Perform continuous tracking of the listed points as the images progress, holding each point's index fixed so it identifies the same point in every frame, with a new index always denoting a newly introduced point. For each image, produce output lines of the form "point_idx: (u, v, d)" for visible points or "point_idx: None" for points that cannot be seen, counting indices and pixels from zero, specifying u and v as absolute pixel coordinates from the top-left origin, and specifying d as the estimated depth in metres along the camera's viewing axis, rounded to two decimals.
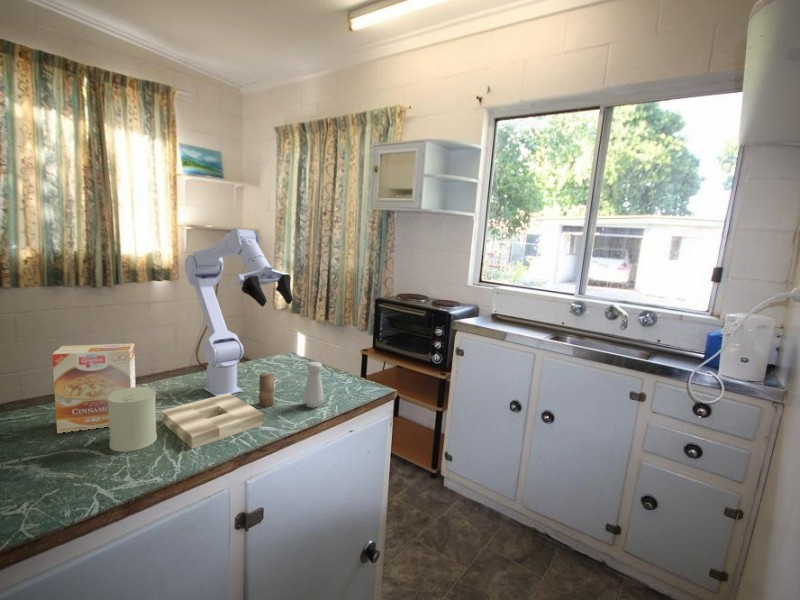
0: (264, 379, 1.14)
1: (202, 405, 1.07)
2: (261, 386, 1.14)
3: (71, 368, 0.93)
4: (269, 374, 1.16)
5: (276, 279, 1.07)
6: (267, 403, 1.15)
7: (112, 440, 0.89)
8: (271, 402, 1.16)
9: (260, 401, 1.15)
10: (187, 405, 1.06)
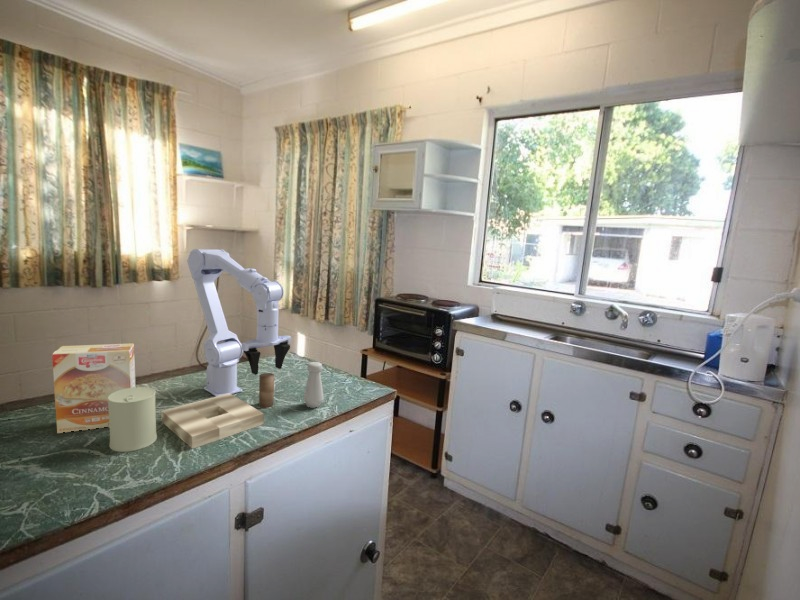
0: (264, 379, 1.14)
1: (202, 405, 1.07)
2: (261, 386, 1.14)
3: (71, 368, 0.93)
4: (269, 374, 1.16)
5: (277, 343, 1.16)
6: (267, 403, 1.15)
7: (112, 440, 0.89)
8: (271, 402, 1.16)
9: (260, 401, 1.15)
10: (187, 405, 1.06)
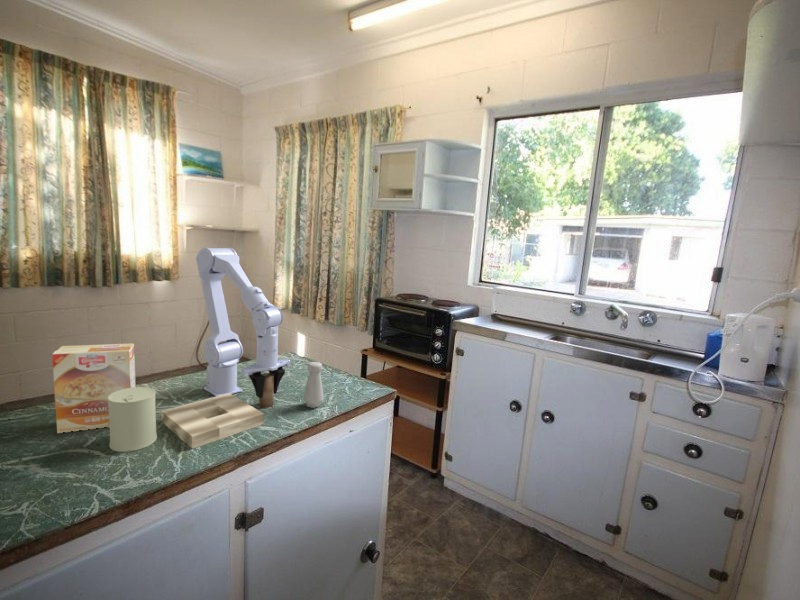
0: None
1: (202, 405, 1.07)
2: None
3: (71, 368, 0.93)
4: (269, 374, 1.16)
5: (277, 367, 1.18)
6: (267, 403, 1.15)
7: (112, 440, 0.89)
8: (271, 402, 1.16)
9: (260, 401, 1.15)
10: (187, 405, 1.06)
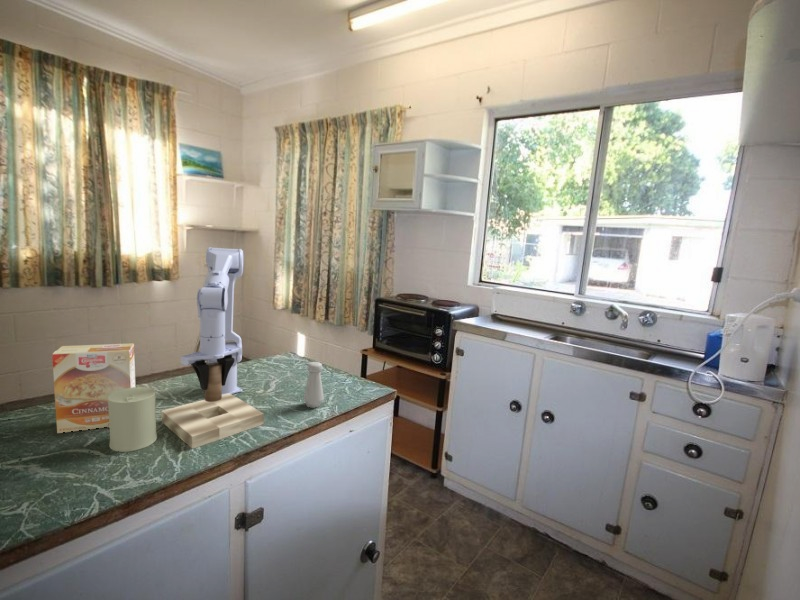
0: None
1: (202, 405, 1.07)
2: None
3: (71, 368, 0.93)
4: (217, 364, 1.02)
5: (225, 355, 1.04)
6: (213, 396, 1.01)
7: (112, 440, 0.89)
8: (218, 395, 1.02)
9: (205, 394, 1.01)
10: (187, 405, 1.06)
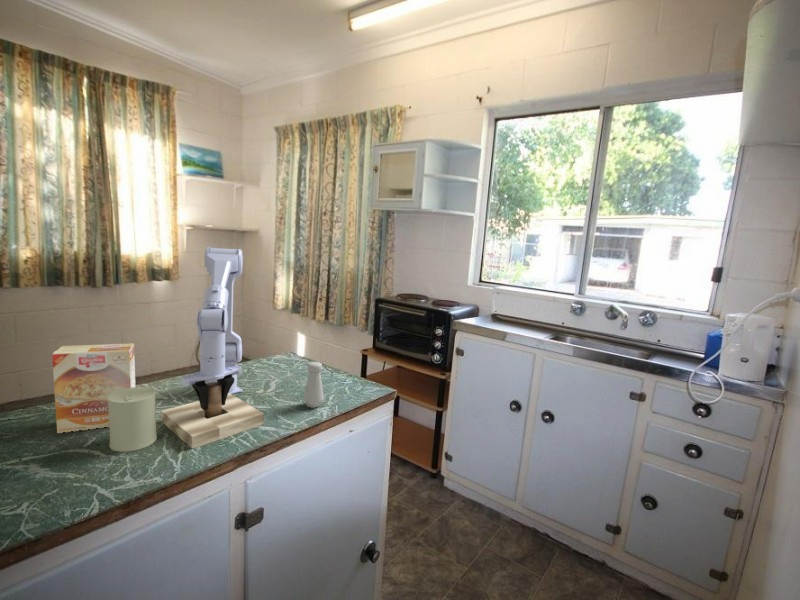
0: (209, 389, 1.01)
1: None
2: None
3: (71, 368, 0.93)
4: (217, 384, 1.03)
5: (225, 375, 1.05)
6: (213, 416, 1.02)
7: (112, 440, 0.89)
8: (218, 415, 1.03)
9: (205, 414, 1.02)
10: (187, 405, 1.06)
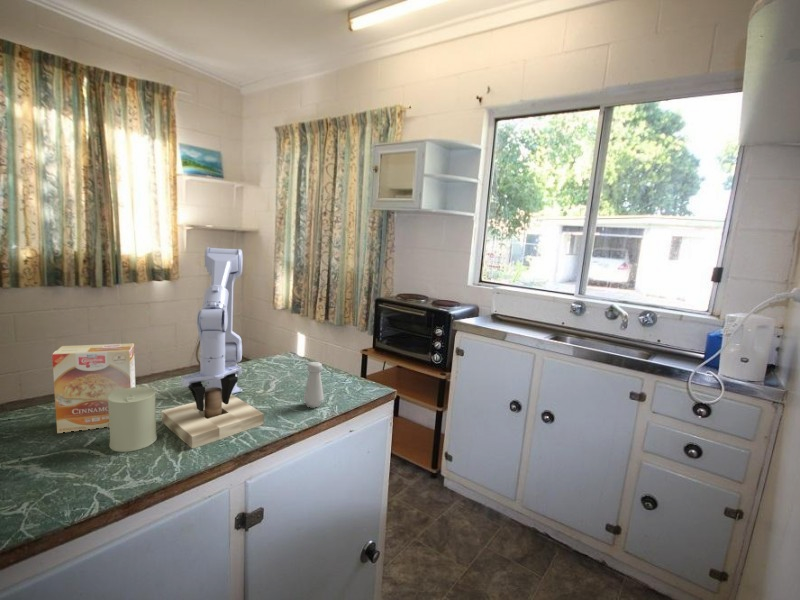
0: (208, 395, 1.01)
1: None
2: (206, 402, 1.01)
3: (71, 368, 0.93)
4: (216, 389, 1.03)
5: (225, 375, 1.05)
6: None
7: (112, 440, 0.89)
8: None
9: None
10: (187, 405, 1.06)
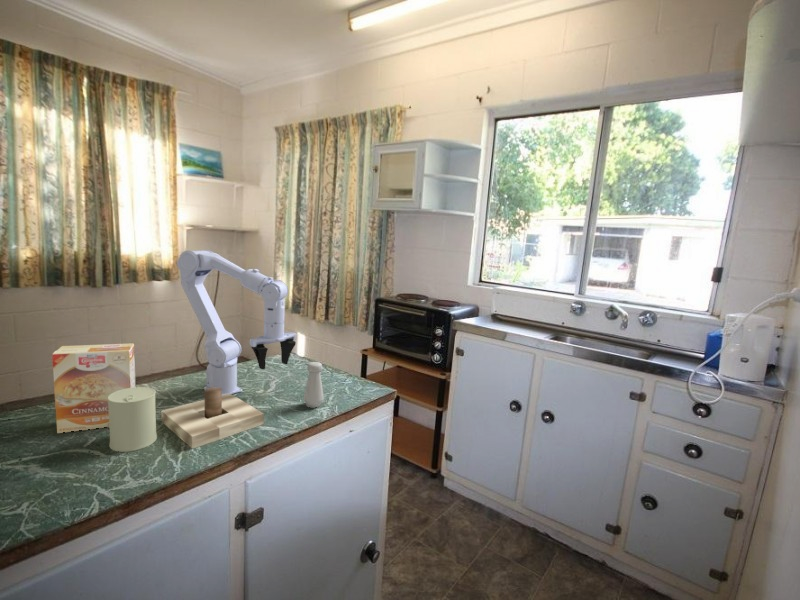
0: (208, 395, 1.01)
1: (202, 405, 1.07)
2: (206, 402, 1.01)
3: (71, 368, 0.93)
4: (216, 389, 1.03)
5: (283, 340, 1.22)
6: None
7: (112, 440, 0.89)
8: None
9: None
10: (187, 405, 1.06)
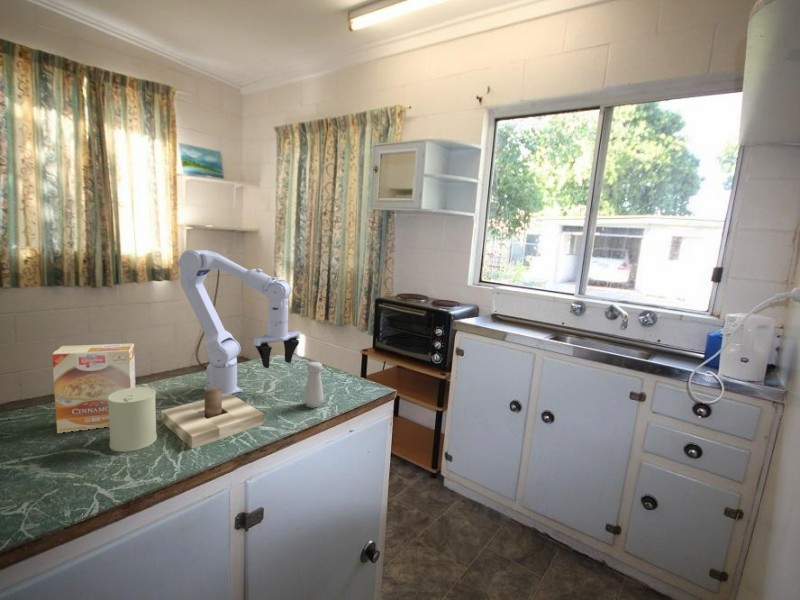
0: (208, 395, 1.01)
1: (202, 405, 1.07)
2: (206, 402, 1.01)
3: (71, 368, 0.93)
4: (217, 389, 1.03)
5: None
6: None
7: (112, 440, 0.89)
8: None
9: None
10: (187, 405, 1.06)
